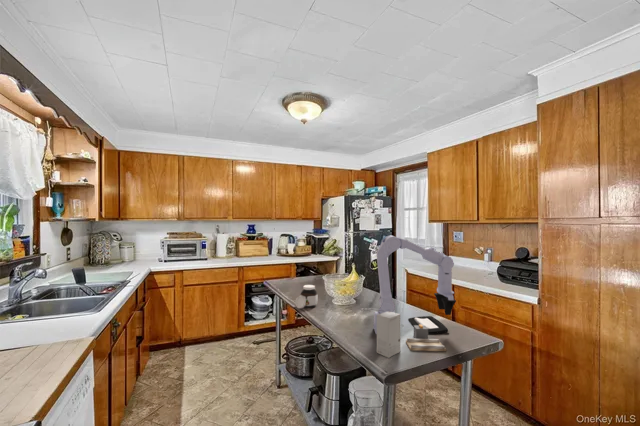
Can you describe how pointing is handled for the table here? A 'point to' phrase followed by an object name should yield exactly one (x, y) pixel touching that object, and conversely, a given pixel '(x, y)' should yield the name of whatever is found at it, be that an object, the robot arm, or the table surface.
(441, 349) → the rail board
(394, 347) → the skincare box
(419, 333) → the module
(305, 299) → the spread jar
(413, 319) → the black picture frame
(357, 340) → the table surface
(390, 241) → the robot arm
